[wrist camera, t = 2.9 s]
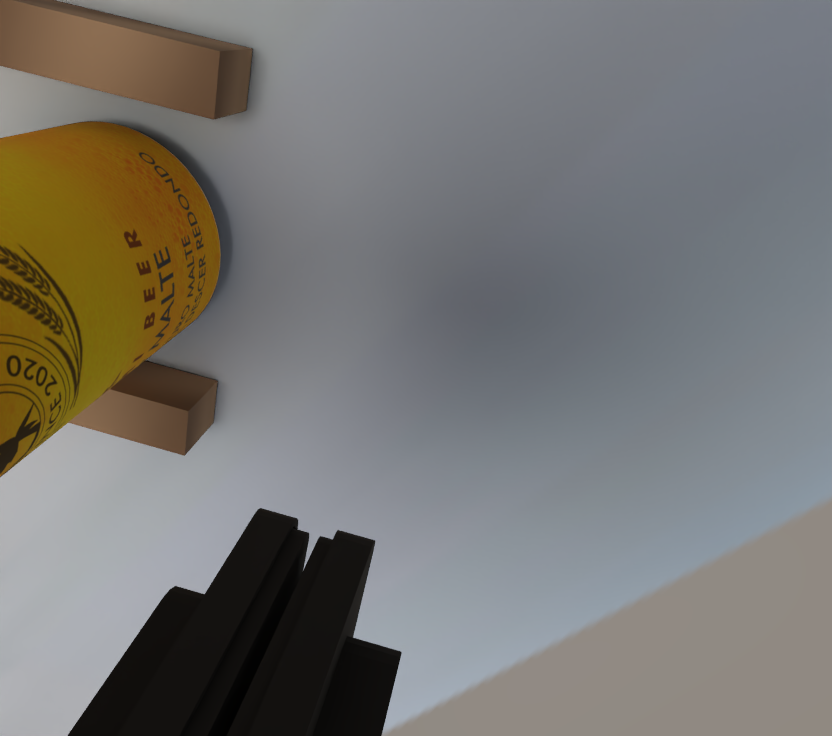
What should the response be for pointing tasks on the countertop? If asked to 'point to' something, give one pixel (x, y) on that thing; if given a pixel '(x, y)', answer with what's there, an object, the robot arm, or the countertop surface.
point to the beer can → (91, 269)
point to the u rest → (157, 84)
